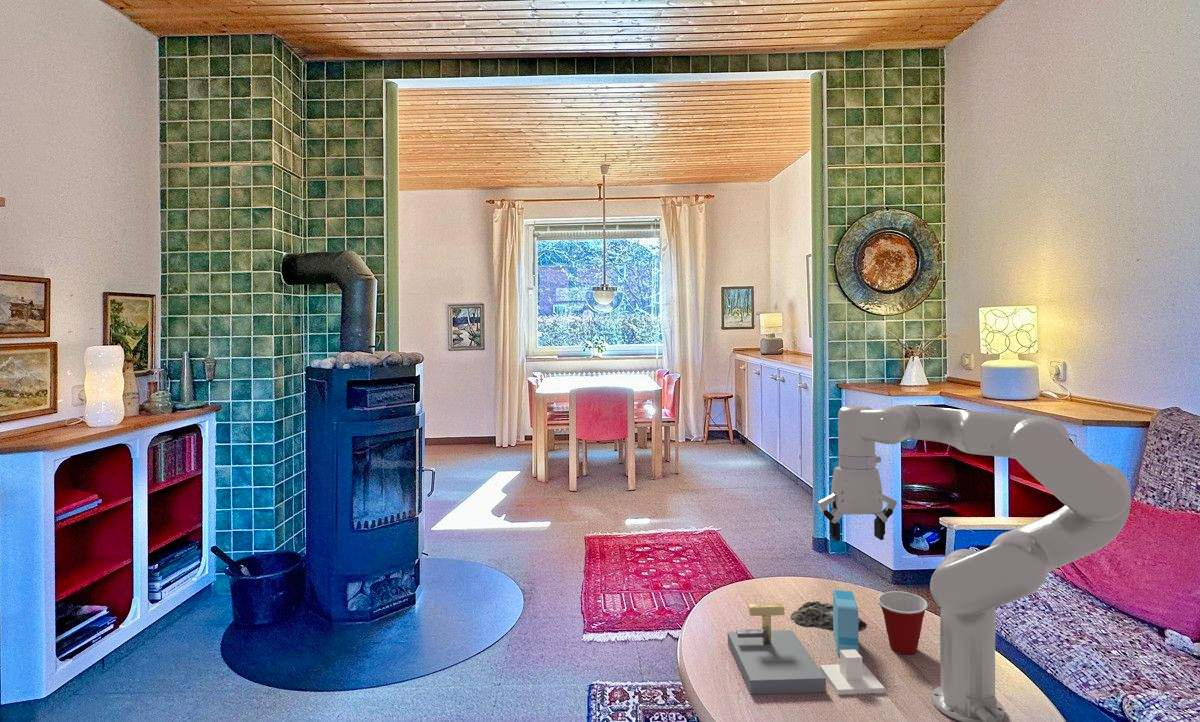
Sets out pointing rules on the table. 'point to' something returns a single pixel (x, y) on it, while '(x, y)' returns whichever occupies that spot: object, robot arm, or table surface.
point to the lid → (851, 675)
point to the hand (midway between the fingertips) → (857, 538)
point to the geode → (816, 615)
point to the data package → (845, 621)
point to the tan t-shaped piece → (766, 613)
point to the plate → (776, 664)
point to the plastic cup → (903, 619)
